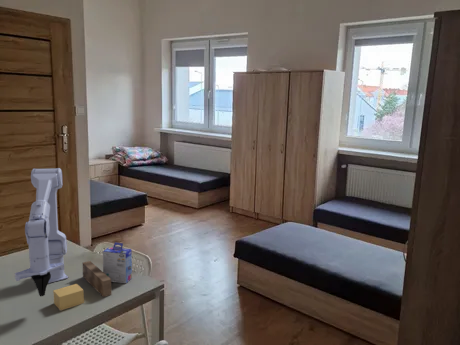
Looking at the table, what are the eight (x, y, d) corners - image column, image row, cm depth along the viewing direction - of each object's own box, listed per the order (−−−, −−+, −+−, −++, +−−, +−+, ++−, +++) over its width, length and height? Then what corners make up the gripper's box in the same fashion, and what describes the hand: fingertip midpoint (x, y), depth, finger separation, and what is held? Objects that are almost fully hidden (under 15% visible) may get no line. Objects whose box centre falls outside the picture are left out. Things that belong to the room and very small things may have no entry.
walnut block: (83, 277, 159) (82, 262, 158) (90, 275, 161) (90, 260, 159) (103, 297, 144) (102, 281, 142) (111, 294, 145) (111, 279, 144)
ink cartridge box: (132, 277, 159) (132, 243, 156) (126, 284, 154) (125, 248, 151) (109, 275, 161) (108, 240, 158) (102, 281, 156) (101, 245, 153)
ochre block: (54, 303, 139) (53, 290, 138) (77, 296, 144) (76, 283, 143) (60, 311, 134) (59, 297, 133) (84, 303, 139) (83, 289, 138)
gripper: (17, 265, 122) (20, 306, 125) (66, 254, 131) (68, 293, 134) (12, 257, 128) (15, 297, 130) (59, 247, 137) (61, 285, 139)
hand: (41, 294), depth 132 cm, fingers closed
